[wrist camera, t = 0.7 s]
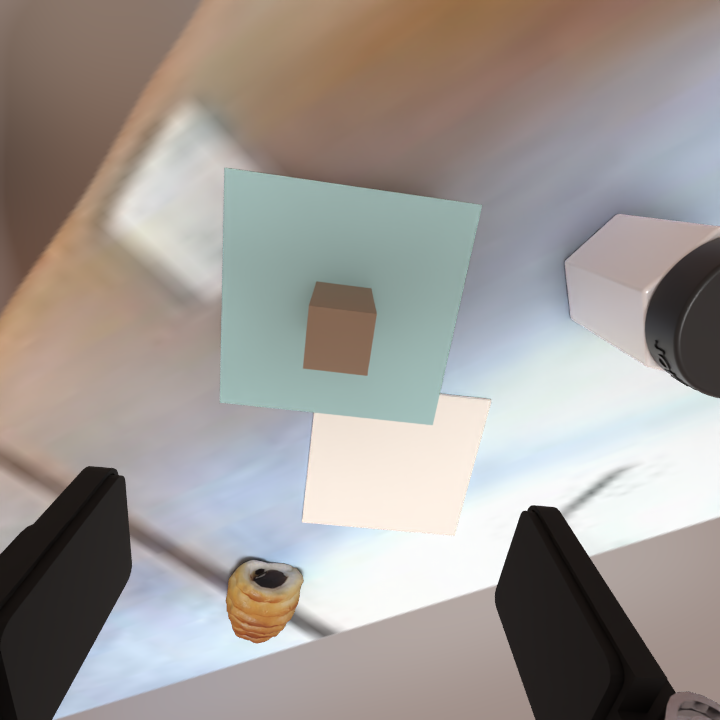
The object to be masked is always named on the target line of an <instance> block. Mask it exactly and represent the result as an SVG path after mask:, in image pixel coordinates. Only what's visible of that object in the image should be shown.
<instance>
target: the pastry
mask: <svg viewBox="0 0 720 720" xmlns="http://www.w3.org/2000/svg"><path fill="white" fill-rule="evenodd" d="M303 581H304V580H303V576H302V574H301V573H300V572H299V571H298V569H297V568H293V567H292V566H291V565H288V564H284V563H266V562H262V561H257V560H250V561H247V562H245V563H243V564H242V565H240V566H239V567H238V568H237V569H236V571H235V572H234V573H233V574H232V576H231V577H230V578H229V582H228V594H227V597H226V604H227V612H228V617H229V619H230V621H231V624H232V629H233V630H234V632H235V635H236V636H238V637H239V638H243V639H246V640H250V641H252V642H253V643H261V642H265V641H267V640H269V639H270V638H271V637H275V636H277V635H278V634H279V633H280V631H281V630H283V629H284V627H285V626H286V623H287V622H288V621H289V620H290V619H291V618H292V616H293V614H294V612H295V608H296V606H297V605H298V601H299V596H300V588H301V585H302V583H303Z"/></svg>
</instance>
